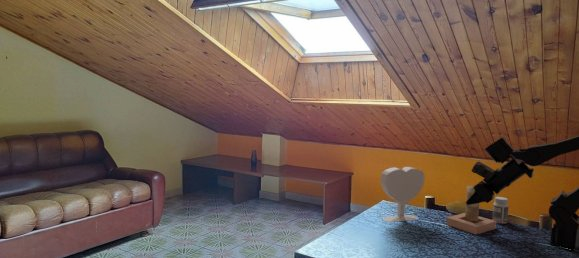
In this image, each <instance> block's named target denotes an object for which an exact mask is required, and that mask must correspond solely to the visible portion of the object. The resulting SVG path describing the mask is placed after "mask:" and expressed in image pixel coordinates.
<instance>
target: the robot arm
mask: <svg viewBox="0 0 579 258" xmlns="http://www.w3.org/2000/svg"><path fill="white" fill-rule="evenodd" d="M484 151H485V152H486V153H487V154H488V155H489V157H490V158H491V159H492V160H493V161H494V162H495V163H497V164H498V163H499V164H501V165H502V164H503V165H502V166H500V168H496V169H493V168H491V167H490V166H488V165H486V164H485V163H484V162H480V161H479V160H478V161H476V162H475V163H474V165H473V167H472V168H471V172H472V173H473V174H476V175H478V176H479V177H481V178H483V179H482V180H481V181H479V182H478V183H477V184H475V185H473V186H474V187H473V188H474V189H475V192H474V194H473V195H472V196H471V197H470V198H469V199H468V200H467V201H466V200H465V202H466V204H467V205H471V204H476V203H479V204H481V203H486V204H488V203H489V202H491V201H493V199H495V197H496V196H495V194H496V195H498V194H499V193H501V192H502V191H503V190H505V189H506V188H507V187H510V186H511V185H512V184H513V183H514V182H516V181H517V180H519V179H520V178H522V177H523V176H524V175H526V176H527V177H528V178H530V179H532V178H533V177H534V171H535V168H531V167H537V166H540V165H542V164H544V163H546V162H549V161H551V160H552V159H554V158H556V157H558V156H561V155H565V154H568V153H573V152H575V151H579V135H576V136H574V137H569V138H567V139H563V140H560V141H556V142H552V143H551V142H550V143H541V144H536V145H534V144H533V145H530V146H528V147H527V148H515V149H514V147H513V146H511V145H510V143H508V141H507V140H506V138H505V137H503V136H502V137H500V138H498V139H497V140H496V141H494V142H492V143H490V144H489V145H488V146H487V147H485V148H484ZM509 159H510V160H509ZM508 160H509V161H508ZM507 161H508V162H507ZM505 162H506V163H505ZM504 163H505V164H504ZM529 166H530V167H529ZM578 211H579V186H578V187H577V188H576V189H574V190H572V191H570V192H568V193H566V192H565V190H562V191H560V193H559V194H558V195H557V196H555V197H552V199H551V201H550V206H549V208H548V215H549V217H550V218H551V219H552V220H554V223H553V226H552V227H551V229H550V241H549V242H548V244H549V243H551V244H554V245H557V246H561V247H564V248H568V249H571V250H574V249H577V248H579V215H578V214H577V212H578ZM554 245H553V246H554ZM557 246H556V247H557ZM564 248H563V249H564ZM577 250H578V249H577Z"/></svg>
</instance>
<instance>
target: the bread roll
mask: <svg viewBox="0 0 579 258" xmlns="http://www.w3.org/2000/svg"><path fill="white" fill-rule="evenodd" d="M445 208H446V210H447V212H449V213H451V214H455V215H458V214H462V213H465V211H466V200H456V201H450V202H448V203H447V204H446V206H445Z"/></svg>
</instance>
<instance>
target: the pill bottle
mask: <svg viewBox="0 0 579 258" xmlns="http://www.w3.org/2000/svg"><path fill="white" fill-rule="evenodd" d="M508 201H509V200H508V198H506V197H502V196H494V202H493V207H492V219H491V220H494V221H496V224H507V223H508V218H509V204H508Z"/></svg>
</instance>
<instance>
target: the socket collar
mask: <svg viewBox="0 0 579 258" xmlns="http://www.w3.org/2000/svg"><path fill="white" fill-rule="evenodd" d="M446 225H447V226H450V227H452V228H456V229H459V230H462V231H465V232H468V233H471V234H474V235H480V234H483V233H486V232H489V231H492V230H495V229H497V223H496V221H494V220H492V219H489V218H486V217H483V216H479V215H478V222H477V223H472V222H468V221H465V213H462V214H455V215H452V216H447V217H446Z"/></svg>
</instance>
